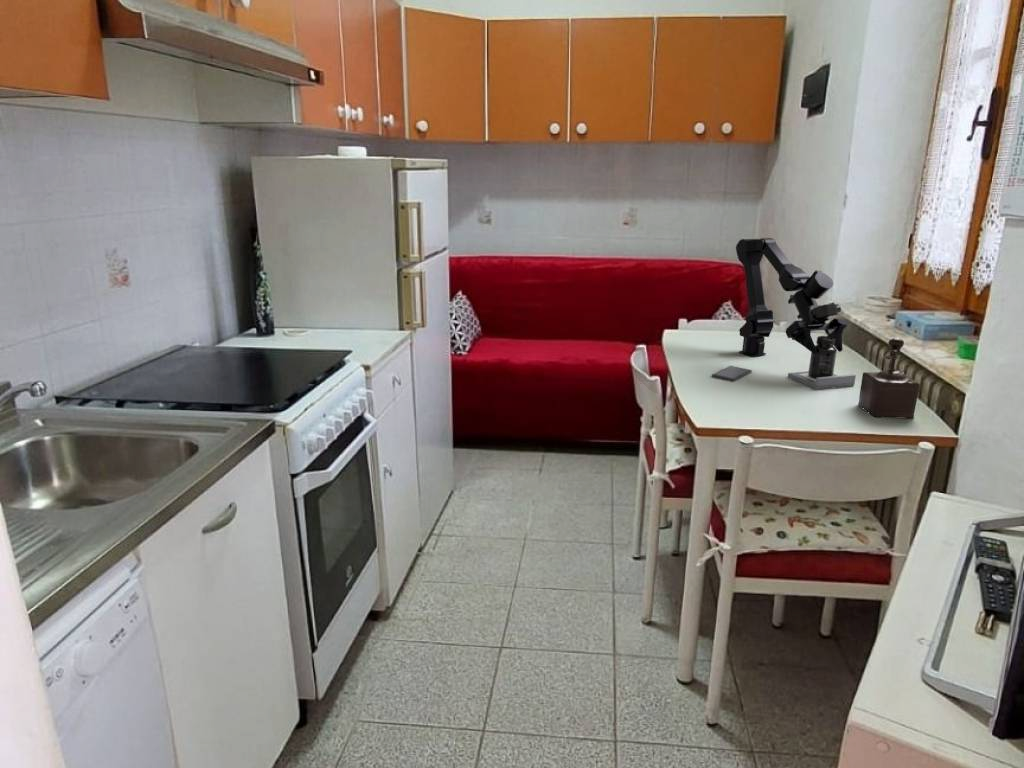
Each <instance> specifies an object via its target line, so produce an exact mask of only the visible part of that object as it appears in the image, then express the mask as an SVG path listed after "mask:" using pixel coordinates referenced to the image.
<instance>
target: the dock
mask: <svg viewBox="0 0 1024 768" xmlns="http://www.w3.org/2000/svg"><path fill="white" fill-rule="evenodd" d="M808 372H809V370H808V371H797V372H787V373H788V374H787V377H788V378H790V379H792V380H794V381H796V382H799V383H802V384H804V385H807V386H808V385H809V387H811V388H812V389H813V388H814V389H816V390H826V389H825V388H828V389H833V388H832V387H838V388H842V387H841V386H847V387H851V386H850V385H854V386H855V381H856V377H857V375H856V374H852V373H851V374H843V375H842V374H841V375H837V374H836V373H833V376H829V377H819V378H816V379H814V378H811V377H810V376H809V375H808Z"/></svg>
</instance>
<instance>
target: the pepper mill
mask: <svg viewBox="0 0 1024 768" xmlns="http://www.w3.org/2000/svg"><path fill="white" fill-rule="evenodd" d="M904 344H905V341H904V340H903V339H902V338H899V337H898V338H897V337H893V338H891V339H889V340H888V346H889V347H890V352H889V354H888V355H883V356H882V359H884V360H889V361H891V362H890V367H889V369H888V368H887V369H883V370H880V371H879V372H877V371H876V372H873V371H872V372H871V371H869V372H867V371H866V372H865V371H864V372H863V373H862V376H861V377H862V379H861V382H860V383H861V384H860V390H859V396H858V397H859V398H858V406H859V405H860V406H861V407H862V408H864V409H865V410H866V411H867V412H869V413H870V414H871V416H872V415H873V416H876V417H875V418H882V417H906V418H905V419H914V418H915V411H916V406H917V400H918V397H919V392H920V391H919V390H920V383H918V382H917V381H915V380H914V379H913V377H911V376H910V375H908V374H906V373H907V370H906V369H905V370H903V371H900V370H898V369H896V368H895V367H896V361H897V360H898V356H901V349H902V348H903V347H904ZM860 406H859V407H860ZM861 407H860V408H861ZM862 408H861V409H862ZM864 409H863V410H864ZM865 410H864V411H865ZM866 411H865V412H866ZM867 412H866V413H867ZM869 413H868V414H869ZM870 414H869V415H870ZM873 416H872V417H873Z"/></svg>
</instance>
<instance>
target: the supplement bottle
mask: <svg viewBox="0 0 1024 768" xmlns="http://www.w3.org/2000/svg"><path fill="white" fill-rule="evenodd" d="M815 343H816V344H814V345H815V347H816V350H817V353H816V354H813V353H812V352H811V351H810V359H809V366H808V371H809V372H808V375H809V376H810V377H811V378H814V379H816V378H819V377H829V376H833V374H835V366H836V359H837V353H838V350H837V349H836V348H835V346H834V344H835V338H833V337H828V335H820V336H817V338H816V342H815Z"/></svg>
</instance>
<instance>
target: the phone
mask: <svg viewBox="0 0 1024 768" xmlns="http://www.w3.org/2000/svg"><path fill="white" fill-rule="evenodd" d="M752 371H753V370H752V369H747V368H743V367H738V366H733V365H729V366H727V367H725V368H722V369H721V370H718V371H717V372H714V373H712V374H711V377H712V378H714V377H715V378H714V379H719V378H721V379H720V380H725V381H728V380H729V382H735V381H738V380H740V379H741V378H744V377H745V376H748V375H749V374H752Z"/></svg>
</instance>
